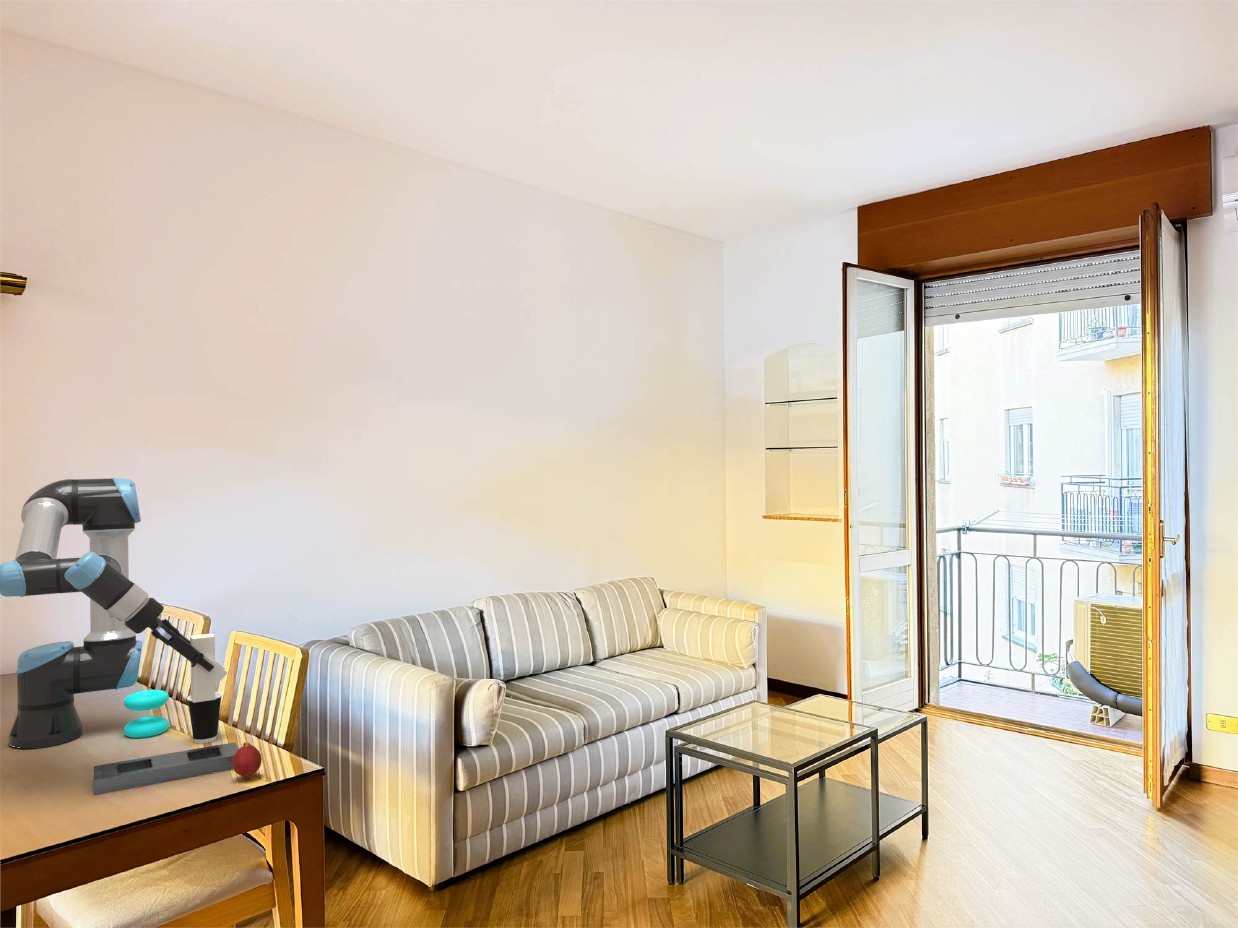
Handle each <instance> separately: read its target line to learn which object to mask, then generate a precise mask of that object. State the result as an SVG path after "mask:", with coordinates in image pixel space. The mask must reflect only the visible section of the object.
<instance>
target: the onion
mask: <svg viewBox="0 0 1238 928" xmlns="http://www.w3.org/2000/svg"><path fill="white" fill-rule="evenodd" d="M262 759H263V758H262V754H261V752H260V750H259V749H258V748H257V747H256V746H254V745H253V744H251V743H250V742H248V741H244V742H243V743H242V746H241V747H239V749H238V751H237V752H236V753H235V755H234V757H233V760H232V766H233V769H232V770H233V771H234V773H236V774H237V775H238V776H240V777H242V778H243V779H244V778H245V779H246V780H248V779H250V778H251V777H252V776H254V775H255V774H256V773H257V772H258V771H259V769H260V767H261V766H262ZM247 778H248V779H247ZM245 779H244V780H245Z"/></svg>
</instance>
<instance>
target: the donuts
mask: <svg viewBox="0 0 1238 928" xmlns="http://www.w3.org/2000/svg"><path fill="white" fill-rule="evenodd" d="M169 698H170V695H169V693H168V692H167V691H165V690H161V689H149V690H148V689H145V690H142V691H141V690H140V691H137V692H134V693H130V694H128V695H127V696H126V697H125V698H124V699H123V706H124V707H125V708H126V709H128V710H129V711H135V712H144V711H145V712H146V711H151V710H155V709H158V708H161V707H163V706H164V705H166V704H167V703H168V701H169ZM169 727H170V722H169V719H167V718H165V717H164V716H160V715H147V716H146V715H145V716H142V717H137V718H135V719H132V720H131V721H129V722H128V723H127V724H126V725H125V726H124V729H123V733H124V734H125V736H127V737H128V738H134V739H142V738H150V737H155V736H158V735H160V734H163V733H164V732H166V731H167V730H168V728H169Z"/></svg>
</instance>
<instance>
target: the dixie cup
mask: <svg viewBox="0 0 1238 928" xmlns="http://www.w3.org/2000/svg"><path fill="white" fill-rule="evenodd" d="M215 696H216V700H209V701H202V702H195V703H193V702H192V699H191V694H190V695H188V696H187V697H186V700H187V701H188V711H189V717H190V724H191V725H190V726H191V731H192V738H193V740H194V743H195V744H199V743H201V744H208V742H209V743H212V742H215V741H216V740H217V736H218V733H219V726H220V725H219V723H220V713H221V704H222V697H223V693H222V692H220V691H215ZM214 740H215V741H214ZM211 741H212V742H211Z"/></svg>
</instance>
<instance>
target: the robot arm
mask: <svg viewBox="0 0 1238 928" xmlns="http://www.w3.org/2000/svg"><path fill="white" fill-rule="evenodd" d="M137 494H138V493H137V489H136V484H135V482H134V481H133V479H129V478H117V477H116V478H115V477H112V478H85V479H80V478H79V479H73V478H68V479H67V478H66V479H62V480H57V481H54V482H51V483H48V484H46V485H45V486H43V487H40V488H39V489H38V490H36V491H35V492H34V493H33V494H32V495H31V496H29V498H28V499H27V500H26V501H25V502H24V504H23V505H22V506H23V507H22V508H21V509H22V510H21V515H20V518H21V522H22V524H23V526H22V529H21V533H20V538H19V542H18V545H17V550H16V553H15V557H14V560H11V561H3V562H2V563H0V595H1V596H3V597H5V598H7V597H8V598H9V597H10V598H11V597H20V598H23V597H27V596H28V597H30V596H40V595H41V596H43V595H44V596H45V595H53V594H54V595H55V594H56V595H57V594H71V593H82V594H84V595H85V596H86V597H87V598H89V605H90V606H89V609H90V610H89V613H90V614H89V615H90V616H89V617H90V618H89V619H90V622H89V623H90V624H89V625H90V627H89V628H90V631H89V633H88V634H86V636H85V637H84V638H83V646H75V643H74V642H73V641H71V640H65V641H57V642H56V641H55V642H52V643H47V644H43V645H42V644H41V645H39V646H35V647H31V648H29V649H27V650H24V651H23V652H21V653H20V654H19V656H18V657H17V666H16V672H15V673H16V675H17V676H16V678H17V714H16V716H15V718H14V721H13V724H12V727H11V731H10V732H9V737H8V741H9V742H8V745H9V744H10V745H11V746H15V747H20V748H32V749H40V748H46V747H53V746H58V745H61V744H65V743H69V742H71V741H74V740H77V739H78V738H79V737H81V736H82V735H83V724H82V720H81V719H80V716H79V714H78V711H77V709H76V706H75V695H77V694H85V693H94V692H100V691H108V690H109V691H110V690H115V691H117V690H118V689H123V688H130V687H132V686H134V685H135V684H136V683H137V682H138V677H139V670H140V664H141V656H142V648H143V641H142V640H140V639H137V634H141V633H143V632H144V631H145V630H146V629H147V628H149V629H150V630H151V632H150V633H151V635H152V636H153V637H154V638H155V639H156V640H160V641H161V642H163V644H164V645H166V646H168V647H170V648H172V649H173V650H174V651H176V652H178V653H177V654H180V655H181V656H183V657H184V658H185V660H187V661H189V662H190V668H191V667H194V666H195V665H196V666H197V667H199V668H200V669H201V670H202V671H204V672H205V673H206V674H208V675H209V676H210V677H212V678H213V679H214V680H215V682H217V683H218V684H220V682H221V681H222V680H223V679H224V678H225V677H226V676H227V675H228V673H229V672H227V671H226V670H225V667H224V666H223V665H221V664H220V663H219V662H217V661H216V660H215V662H213V661H212V660H211V659H210V658H208V657H207V656H206V655H204V654H203V653H200V652H199V651H198V650H197V649H195V648H194V647H193V646H192V645H190V639H188V638H187V637H186V636H184V635H183V634H182V633H181V632H180V630H179V629H178V628H177V627H176V626H173V624H172V623H171V621H169V620H168V619H166V618H164V619H161V618H160V617H159V616H161V614H162V613H163V611H164V610H165V607H164V605H162V603H160V602H159V601H157V600H156V599H155V598H154V597H149V593H148V592H146V591H145V590H144V589H143V588H141V587H140V586H139V585H138V584H136V583H135V582H134V581H131V580H130V577H129V571H130V570H129V536H130V535H131V534H132V533H133V532H135V530H136V529H135V528H136V527H135V525H136V524H138V523H141V522H142V520H141V519H142V518H141V512H140V507H139V500H138V495H137ZM70 525H73V526H75V525H81V526H82V532H83V534H84V535H86V536H87V537H88V539H89V551H88V552H86V553H85V554H83V555H82V556H81V557H69V558H57V556H58V551H59V544H60V539H61V534H62V529H63V528H64V527H65V526H70ZM191 663H192V665H191Z"/></svg>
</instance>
